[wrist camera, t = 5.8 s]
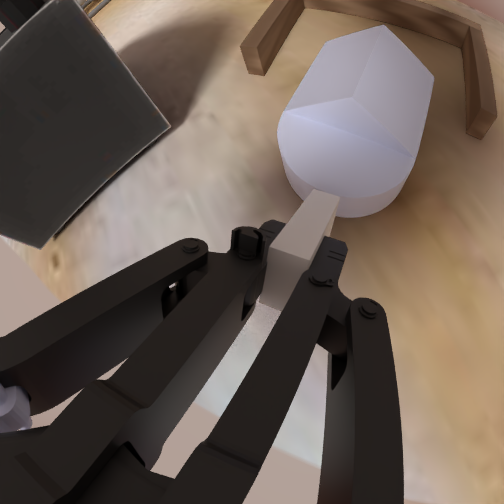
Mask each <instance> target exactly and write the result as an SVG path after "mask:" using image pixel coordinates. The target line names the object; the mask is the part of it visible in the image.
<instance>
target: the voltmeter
mask: <svg viewBox="0 0 504 504" xmlns="http://www.w3.org/2000/svg"><path fill="white" fill-rule="evenodd" d="M0 22H1V23H2V24H3V25H4V26H5V27H6V28H5V29H4V30H3V31H2V32H1V33H0V235H2V236H4V237H7V238H9V239H12V240H15V241H17V242H20V243H23V244H26V245H28V246H31V247H34V248H37V249H39V250H41V249H42V248H43V247H44V246H45V244H46V243H47V242H48V241H49V240H50V239H51V238H52V237H53V235H54V234H55V233H59V232H60V231H61V230H62V229H63V227H64V223H65V222H66V221H67V220H68V219H69V218H70V217H71V216H72V215H73V214H74V213H75V212H76V211H77V210H78V209H79V208H80V207H81V206H82V205H83V204H84V203H85V202H86V201H87V200H88V199H89V198H90V197H91V196H92V195H93V194H94V193H95V192H96V191H97V190H98V189H99V188H100V187H101V186H102V185H103V184H104V183H105V182H107V181H108V180H109V179H110V178H111V177H112V176H113V175H114V174H115V173H116V172H117V171H119V170H120V169H121V168H122V167H123V166H124V165H125V164H126V163H128V162H129V161H130V160H131V159H132V158H133V157H135V156H136V155H137V154H138V153H139V152H140V151H142V150H143V149H144V148H145V147H150V146H151V145H152V144H154V143H155V142H156V140H157V138H158V137H159V136H160V135H161V134H162V133H164V132H165V131H166V130H168V129H169V128H170V127H171V125H170V124H169V123H168V121H167V120H166V118H165V117H164V116H163V114H162V113H161V112H160V110H159V109H158V108H157V106H156V105H155V104H154V102H153V101H152V100H151V98H150V97H149V96H148V94H147V93H146V92H145V90H144V89H143V88H142V86H141V85H140V84H139V82H138V81H137V80H136V78H135V77H134V76H133V74H132V73H131V72H130V70H129V69H128V68H127V66H126V65H125V64H124V62H123V61H122V60H121V58H120V57H119V56H118V54H117V53H116V52H115V50H114V49H113V48H112V46H111V45H110V44H109V42H108V41H107V40H106V38H105V37H104V36H103V35H102V33H101V32H100V31H99V29H98V28H97V27H96V25H95V24H94V23H93V21H92V20H91V19H90V17H89V16H88V15H87V13H86V12H85V11H84V10H83V8H82V7H81V6H80V4H79V3H78V2H77V0H0Z"/></svg>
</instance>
